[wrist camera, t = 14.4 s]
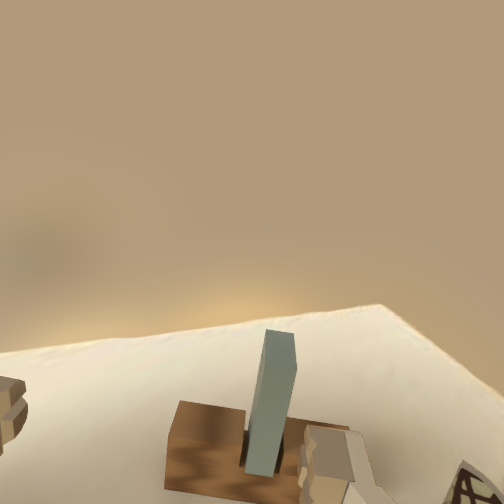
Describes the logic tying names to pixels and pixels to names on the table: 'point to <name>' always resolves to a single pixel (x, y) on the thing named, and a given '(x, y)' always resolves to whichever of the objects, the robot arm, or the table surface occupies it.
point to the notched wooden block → (230, 456)
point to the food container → (472, 488)
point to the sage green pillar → (270, 402)
